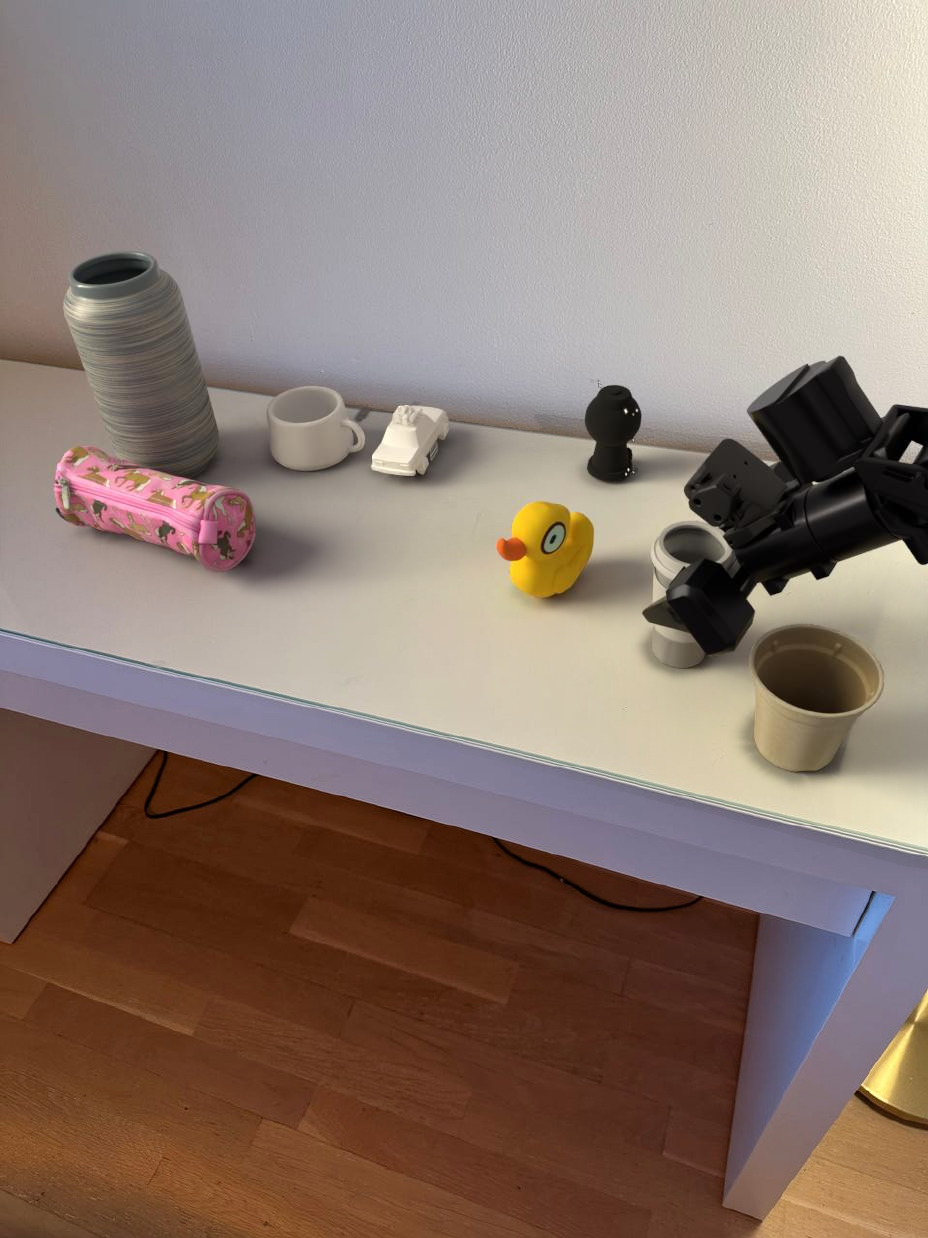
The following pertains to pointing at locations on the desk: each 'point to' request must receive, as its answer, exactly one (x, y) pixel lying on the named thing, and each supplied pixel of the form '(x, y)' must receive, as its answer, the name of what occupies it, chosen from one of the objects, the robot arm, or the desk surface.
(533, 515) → the duckling
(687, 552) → the cup
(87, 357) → the vase
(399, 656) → the desk surface
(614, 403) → the gumball machine
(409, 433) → the toy car
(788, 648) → the flower pot
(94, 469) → the pencil case
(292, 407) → the mug
